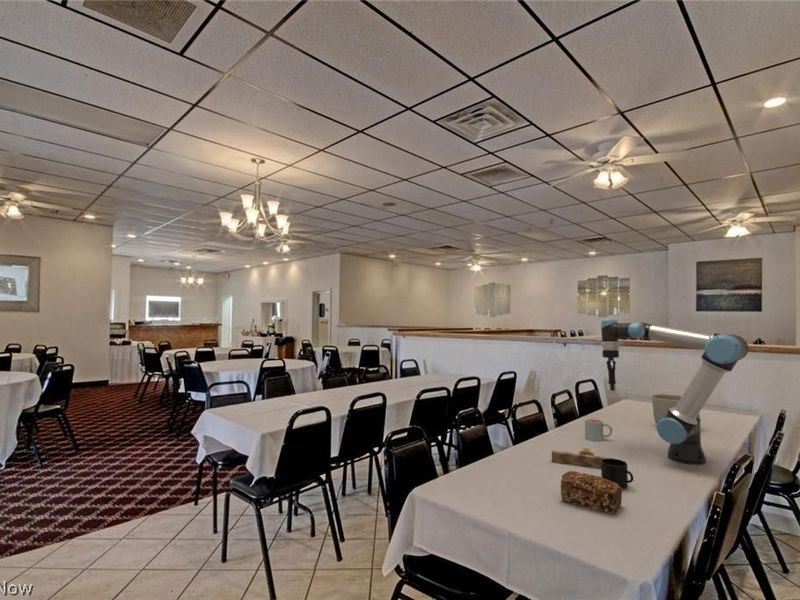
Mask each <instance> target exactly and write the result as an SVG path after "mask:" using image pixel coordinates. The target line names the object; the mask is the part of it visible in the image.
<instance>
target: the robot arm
mask: <svg viewBox="0 0 800 600" xmlns="http://www.w3.org/2000/svg"><path fill="white" fill-rule="evenodd" d="M600 324H601V325H600V330H601V343H600V346H601V349H602V351H601V352H602V357H603V358H605V359H607V360H606V366H607V367H606V368H607V372H608V376H607V377H608V381H607V384H608V387H609V389H608V391H609V397H610V398H616V397H617V391H616V384H617V381H616V364H617V363H616V361H615V359H617V358H619V357H620V352H619V349H620V347H619V344H620V343H619V339H646V340H653V341H657V342H663V343H668V344H672V345H677V346H681V347H682V346H683V347H687V348H691V349H696V350H703V351H704V352H703V354H702V355H701V357H700V358H701V360H702V361H701V362H702V363H701V365H700V366H699V367H698V370H697V371H696V373H695V374H694V376H693V378H692V380H690V383H689V384H688V386H687V387H686V389H685V391H684V392H683V394H682V395H681V396H682V397H681V399H680V400H679V402H678V403H677V405H676V407H672V408H670V409H669V410H668V412H667V414H666V415H665V417H664V418H662V419H661V420H660V421H659V422H658V424H656V431H657V433H658V436H659V437H660V438H661V439H662V440H663V441H664V442H667V443H669V447H668V450H667V458H668V459H669V460H671V461H674V462H677V463H682V464H687V465H696V466H697V465H704V464H707V458H706V455H705V453H704V449H703V447H702V444H701V443H702V442H701V439H702V438H701V436H702V435H701V415H700V412H701V411H702V409H703V408H704V406H705V405H706V403H707V401H708V400H709V399H710V397H711V395H712V393H713V392H714V391H715V389H716V388H717V386H718V384H719V383H720V381H721V380H722V379H723V377H724V375H725V374H726V373H730V372H732V371H733V369H734V368H735V366H736V365H737V363H738V362H739V361H740V360H743V359H744V358H745V357H746V356H747V355H748V353H749V345H748V342H747V341H746V340H745V339H744V338H743V337H742V336H740V335H736V334H730V333H729V334H725V333H723V334H722V333H718V332H714V333H712V334H709V333H703V332H697V331H692V330H687V329H681V328H673V327H669V326H662V325H657V324H651V323H647V322H643V321H642V322H641V321H640V322H621V323H620V322H618V320H617V319H613V318H612V319H611V318H610V319H609V318H608V319H602V320H601V323H600Z"/></svg>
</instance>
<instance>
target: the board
mask: <svg viewBox="0 0 800 600" xmlns="http://www.w3.org/2000/svg"><path fill="white" fill-rule="evenodd" d="M607 458H608V457H606V456H599V455H594V456H592V455H587V454H586V455H584V454H579V453H574V452H566V451H558V450H552V451H551V463H554V464H555V463H556V464H562V465H569V466H570V465H571V466H575V467H576V466H577V467H584V468H590V469H591V468H592V469H599V470H601V460H602V459H607ZM610 458H611V459H615V458H614V457H610Z"/></svg>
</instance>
